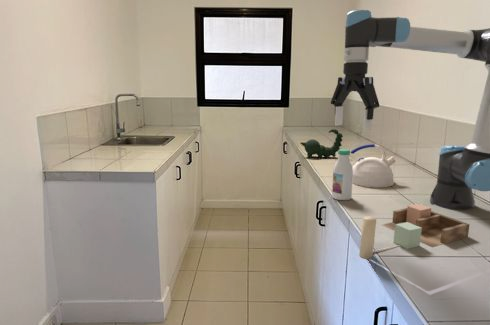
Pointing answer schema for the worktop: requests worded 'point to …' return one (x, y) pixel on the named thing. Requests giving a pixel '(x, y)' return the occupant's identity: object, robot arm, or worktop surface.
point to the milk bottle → (342, 176)
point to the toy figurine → (315, 148)
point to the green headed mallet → (403, 236)
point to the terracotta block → (417, 212)
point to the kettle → (373, 170)
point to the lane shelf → (434, 227)
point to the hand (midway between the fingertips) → (352, 127)
